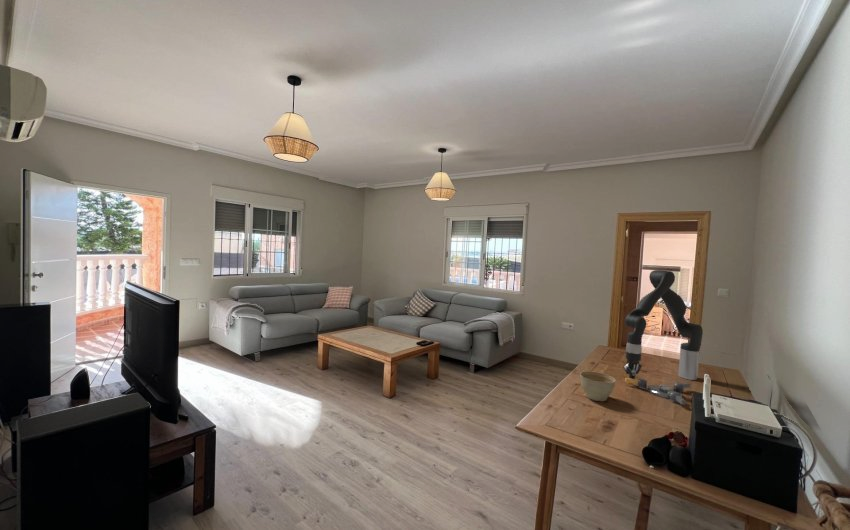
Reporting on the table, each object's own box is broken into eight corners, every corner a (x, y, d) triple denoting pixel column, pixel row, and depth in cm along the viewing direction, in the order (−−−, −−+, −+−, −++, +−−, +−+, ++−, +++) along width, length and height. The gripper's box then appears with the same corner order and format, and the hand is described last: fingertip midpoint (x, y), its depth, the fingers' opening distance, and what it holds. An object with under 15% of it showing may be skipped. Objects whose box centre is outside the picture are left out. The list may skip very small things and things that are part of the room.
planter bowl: (612, 407, 169) (614, 385, 169) (576, 398, 178) (577, 377, 177) (615, 396, 183) (616, 375, 182) (581, 388, 191) (582, 368, 191)
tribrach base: (643, 382, 206) (643, 375, 205) (683, 392, 193) (684, 384, 193) (635, 392, 189) (636, 385, 189) (679, 404, 177) (680, 396, 177)
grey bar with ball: (679, 391, 191) (680, 385, 191) (671, 388, 195) (672, 382, 195) (692, 389, 194) (693, 383, 194) (684, 386, 198) (685, 380, 198)
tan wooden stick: (645, 385, 198) (646, 379, 198) (647, 387, 194) (647, 382, 194) (624, 381, 202) (625, 376, 202) (626, 384, 198) (626, 378, 198)
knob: (667, 397, 182) (668, 390, 182) (677, 398, 181) (677, 391, 181) (678, 405, 172) (678, 399, 172) (688, 406, 171) (688, 400, 171)
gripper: (635, 348, 206) (633, 377, 207) (619, 350, 201) (617, 380, 202) (648, 352, 199) (646, 382, 200) (631, 354, 194) (629, 385, 195)
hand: (631, 381), depth 201 cm, fingers closed
